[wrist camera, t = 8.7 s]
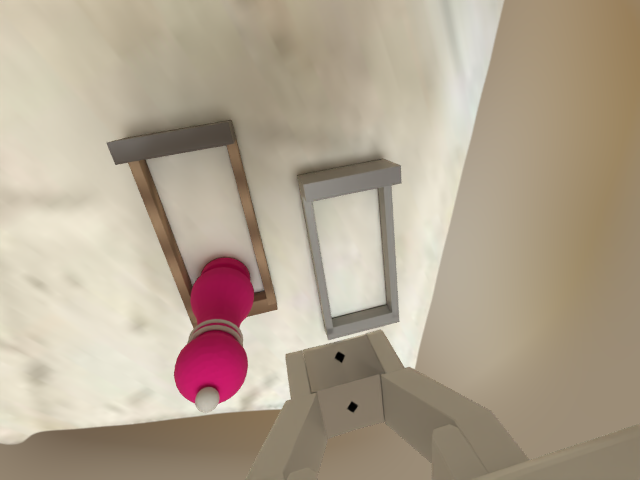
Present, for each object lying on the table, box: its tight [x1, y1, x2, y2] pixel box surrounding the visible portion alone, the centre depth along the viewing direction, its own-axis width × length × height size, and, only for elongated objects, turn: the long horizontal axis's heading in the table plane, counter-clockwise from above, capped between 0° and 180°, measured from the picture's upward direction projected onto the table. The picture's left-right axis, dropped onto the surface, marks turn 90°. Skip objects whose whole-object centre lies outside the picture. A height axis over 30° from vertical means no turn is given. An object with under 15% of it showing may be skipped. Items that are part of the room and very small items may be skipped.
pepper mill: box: [174, 258, 254, 412], centre depth 33 cm, size 7×7×20 cm
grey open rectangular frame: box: [297, 159, 401, 340], centre depth 42 cm, size 24×11×5 cm, turn 9°
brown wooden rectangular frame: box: [107, 120, 277, 328], centre depth 37 cm, size 24×11×5 cm, turn 9°
